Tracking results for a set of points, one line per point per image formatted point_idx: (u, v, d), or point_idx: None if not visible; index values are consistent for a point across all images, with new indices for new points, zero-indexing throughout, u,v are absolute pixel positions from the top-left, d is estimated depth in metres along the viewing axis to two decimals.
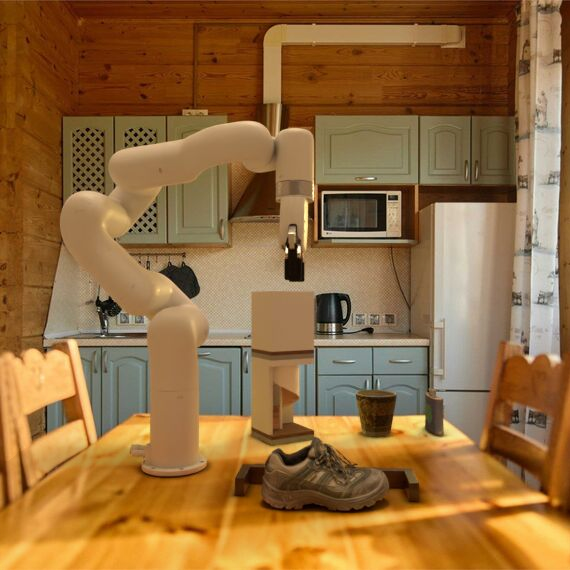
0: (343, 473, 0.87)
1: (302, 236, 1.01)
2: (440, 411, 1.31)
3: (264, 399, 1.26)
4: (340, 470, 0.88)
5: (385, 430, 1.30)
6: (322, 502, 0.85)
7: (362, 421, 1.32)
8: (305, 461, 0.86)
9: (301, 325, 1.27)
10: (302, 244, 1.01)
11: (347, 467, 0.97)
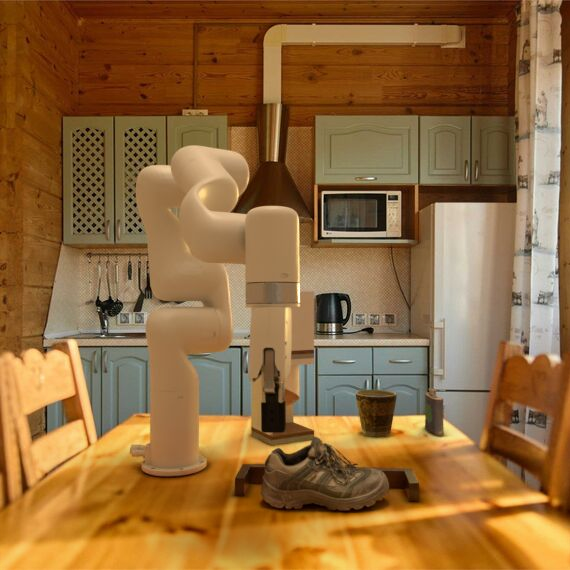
0: (343, 473, 0.87)
1: (282, 366, 0.69)
2: (440, 411, 1.31)
3: None
4: (340, 470, 0.88)
5: (385, 430, 1.30)
6: (322, 502, 0.85)
7: (362, 421, 1.32)
8: (305, 461, 0.86)
9: (301, 325, 1.27)
10: (282, 377, 0.69)
11: (347, 467, 0.97)
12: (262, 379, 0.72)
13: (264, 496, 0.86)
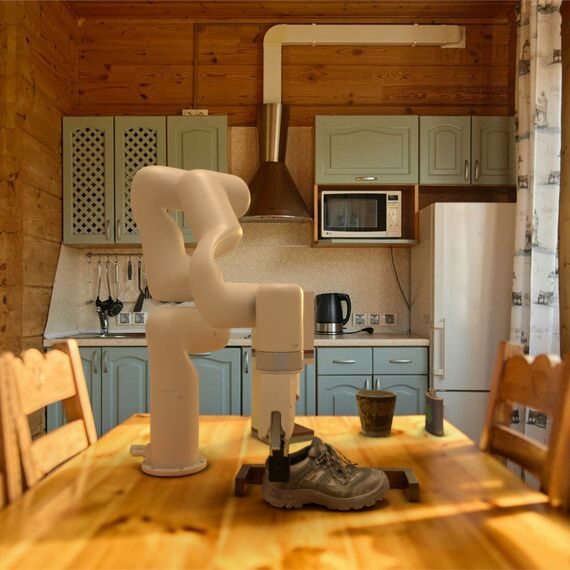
0: (343, 473, 0.87)
1: (287, 427, 0.79)
2: (440, 411, 1.31)
3: None
4: (340, 470, 0.88)
5: (385, 430, 1.30)
6: (322, 501, 0.85)
7: (362, 421, 1.32)
8: (305, 460, 0.86)
9: None
10: (287, 437, 0.79)
11: (347, 467, 0.97)
12: (269, 436, 0.82)
13: (264, 495, 0.87)
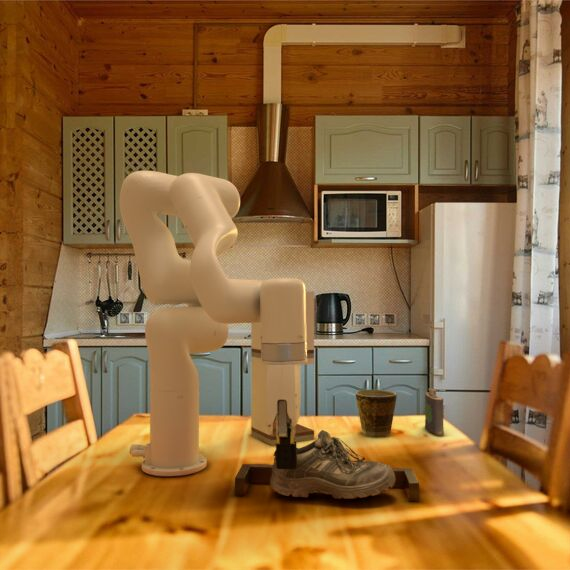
0: (349, 464, 0.90)
1: (293, 415, 0.83)
2: (440, 411, 1.31)
3: (264, 399, 1.26)
4: (346, 461, 0.90)
5: (385, 430, 1.30)
6: (327, 490, 0.87)
7: (362, 421, 1.32)
8: (311, 450, 0.90)
9: None
10: (294, 424, 0.83)
11: None
12: (276, 424, 0.86)
13: (272, 484, 0.89)
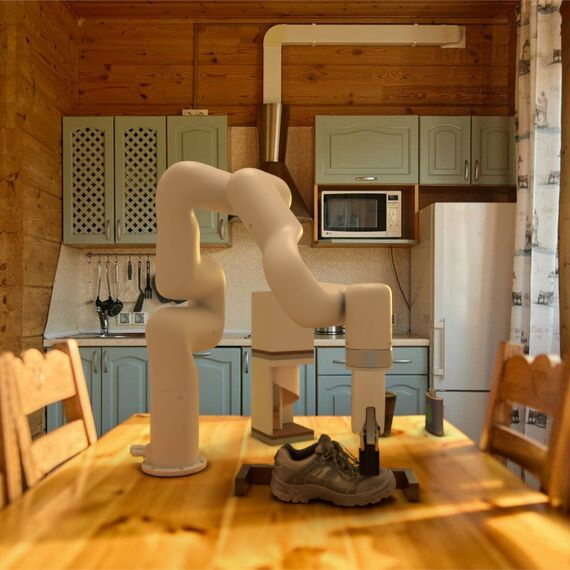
0: (350, 470, 0.89)
1: (382, 422, 0.82)
2: (440, 411, 1.31)
3: (264, 399, 1.26)
4: (347, 467, 0.90)
5: (385, 430, 1.30)
6: (327, 497, 0.87)
7: None
8: (311, 457, 0.89)
9: None
10: (382, 431, 0.82)
11: None
12: (361, 431, 0.85)
13: (272, 489, 0.89)
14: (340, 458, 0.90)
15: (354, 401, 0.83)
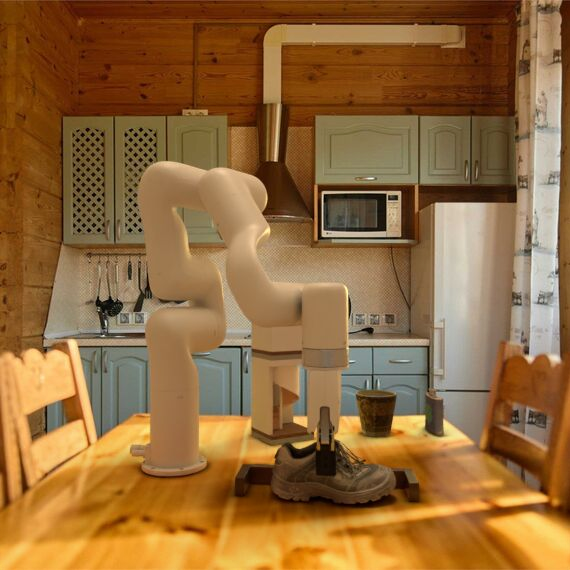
0: (350, 468, 0.89)
1: (336, 422, 0.82)
2: (440, 411, 1.31)
3: (264, 399, 1.26)
4: (347, 465, 0.90)
5: (385, 430, 1.30)
6: (328, 495, 0.87)
7: (362, 421, 1.32)
8: (312, 454, 0.89)
9: (301, 325, 1.27)
10: (336, 431, 0.82)
11: None
12: (317, 431, 0.85)
13: (273, 488, 0.90)
14: (340, 456, 0.91)
15: (308, 401, 0.82)
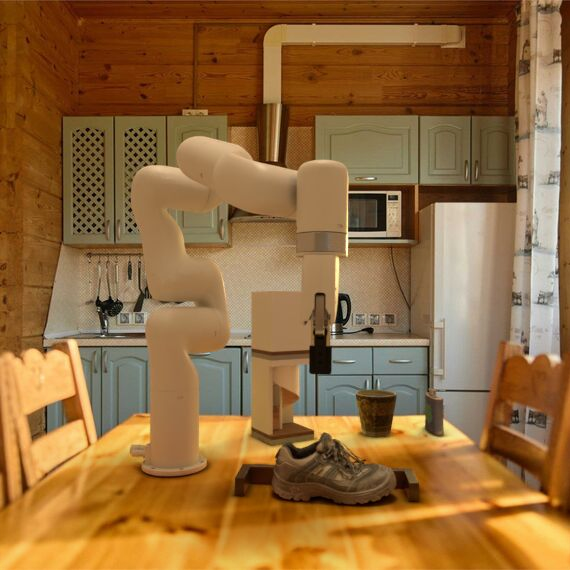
0: (350, 468, 0.90)
1: (332, 310, 0.74)
2: (440, 411, 1.31)
3: (264, 399, 1.26)
4: (348, 465, 0.90)
5: (385, 430, 1.30)
6: (328, 495, 0.88)
7: (362, 421, 1.32)
8: (313, 455, 0.89)
9: (301, 325, 1.27)
10: (332, 320, 0.74)
11: None
12: (311, 323, 0.77)
13: (274, 487, 0.90)
14: (341, 456, 0.91)
15: (302, 287, 0.74)
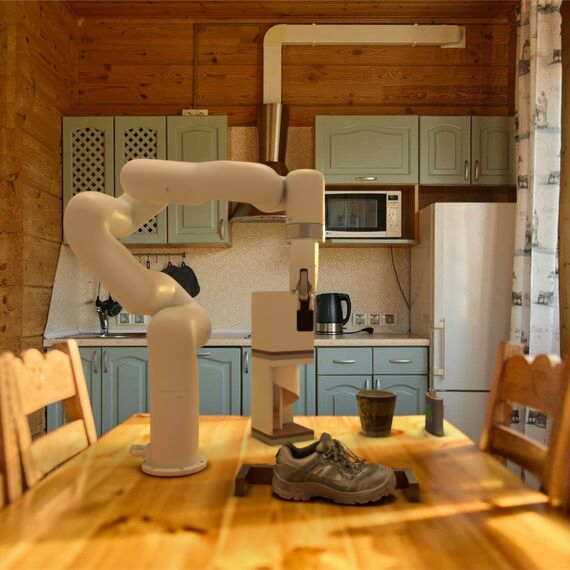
0: (350, 468, 0.90)
1: (313, 281, 0.98)
2: (440, 411, 1.31)
3: (264, 399, 1.26)
4: (348, 465, 0.90)
5: (385, 430, 1.30)
6: (328, 495, 0.88)
7: (362, 421, 1.32)
8: (313, 455, 0.90)
9: None
10: (313, 289, 0.99)
11: None
12: (298, 292, 1.01)
13: (274, 487, 0.90)
14: (341, 456, 0.91)
15: (290, 264, 0.99)
